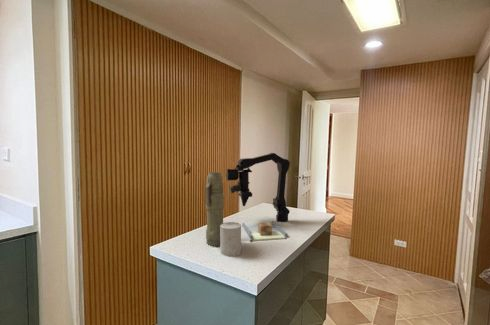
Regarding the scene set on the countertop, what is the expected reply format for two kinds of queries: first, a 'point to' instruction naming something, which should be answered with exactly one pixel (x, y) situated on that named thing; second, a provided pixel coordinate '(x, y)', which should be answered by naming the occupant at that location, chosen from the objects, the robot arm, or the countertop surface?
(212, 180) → the thermos
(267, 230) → the walnut block
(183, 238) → the countertop surface
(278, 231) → the board
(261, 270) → the countertop surface
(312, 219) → the countertop surface
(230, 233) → the grey concrete cylinder
